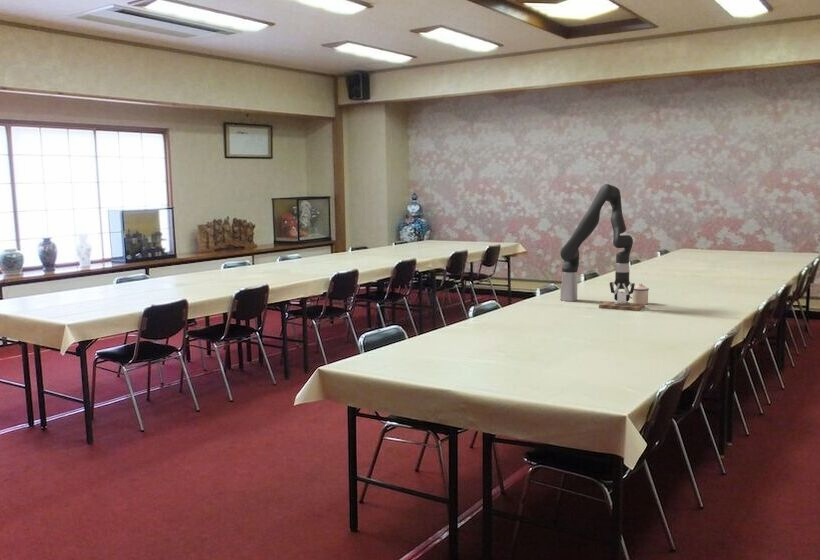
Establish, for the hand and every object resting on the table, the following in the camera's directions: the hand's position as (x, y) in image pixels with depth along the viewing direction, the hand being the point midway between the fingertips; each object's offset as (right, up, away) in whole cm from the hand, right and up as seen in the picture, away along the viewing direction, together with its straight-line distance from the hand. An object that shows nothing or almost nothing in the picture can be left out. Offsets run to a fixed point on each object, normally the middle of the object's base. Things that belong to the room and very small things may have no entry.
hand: (621, 300), depth 415 cm
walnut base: (0, -4, 0) cm, 4 cm away
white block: (0, -1, 0) cm, 1 cm away
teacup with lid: (+13, -2, +14) cm, 20 cm away
